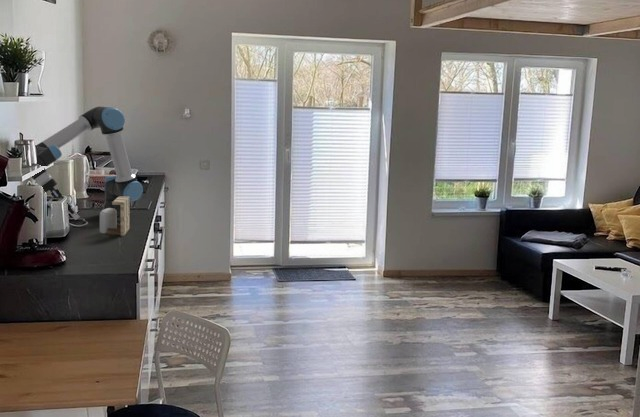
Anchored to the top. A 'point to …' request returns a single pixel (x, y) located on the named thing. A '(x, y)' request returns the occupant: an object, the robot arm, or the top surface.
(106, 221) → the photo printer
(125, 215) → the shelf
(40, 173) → the robot arm
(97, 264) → the top surface
